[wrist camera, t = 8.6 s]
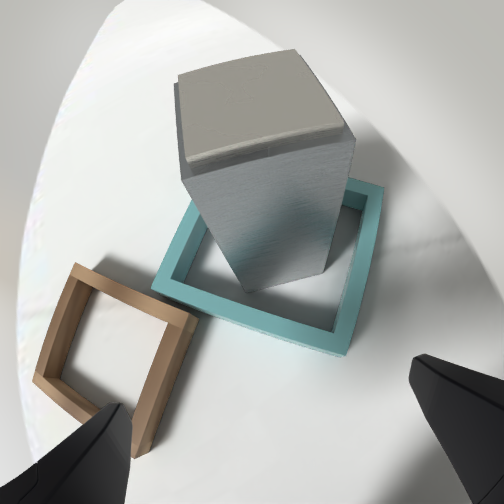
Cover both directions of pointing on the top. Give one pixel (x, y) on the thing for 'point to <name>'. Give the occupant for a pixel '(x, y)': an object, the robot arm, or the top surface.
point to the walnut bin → (161, 368)
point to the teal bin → (263, 322)
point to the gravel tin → (264, 163)
